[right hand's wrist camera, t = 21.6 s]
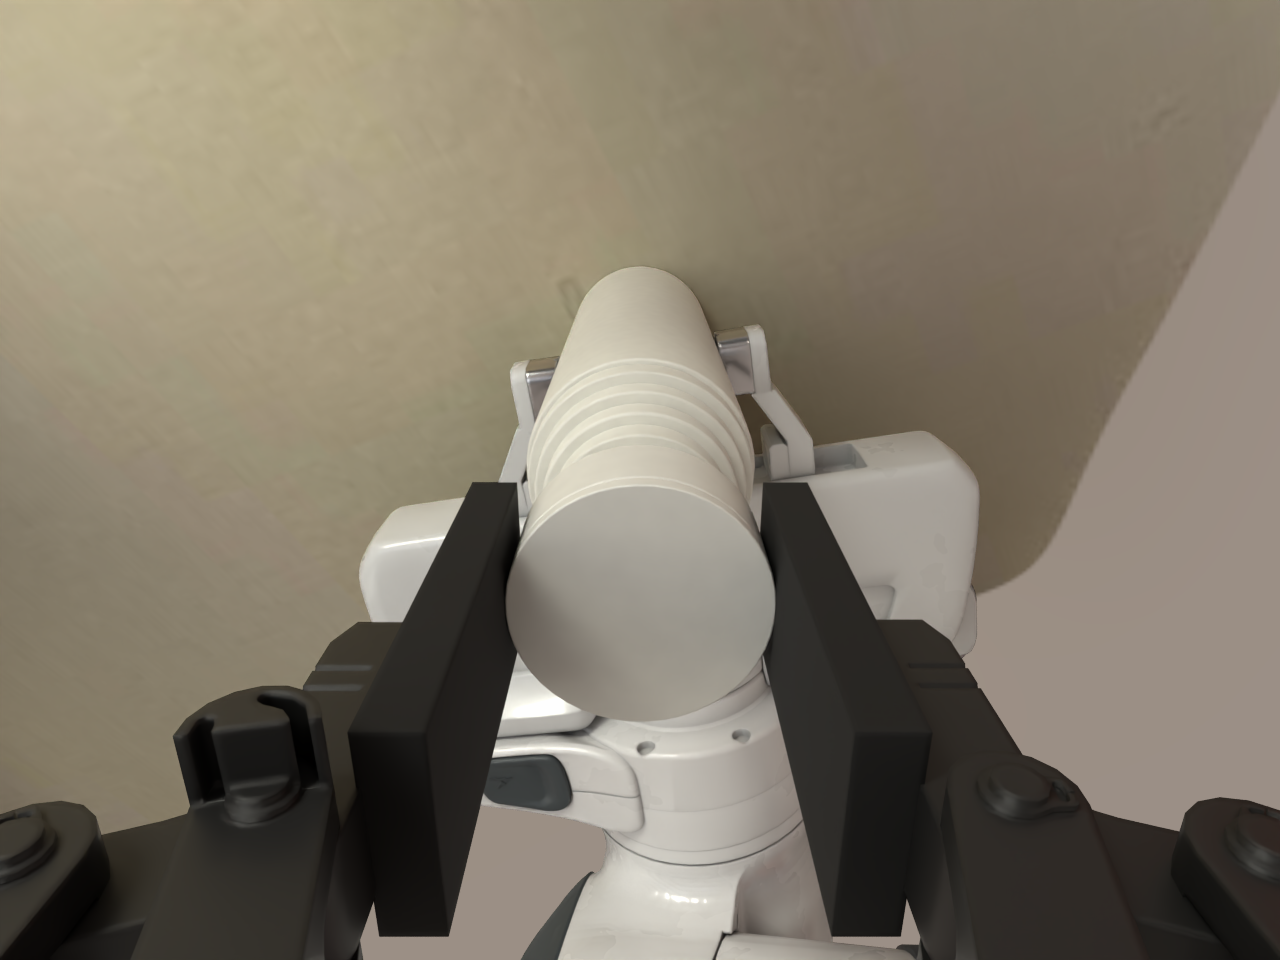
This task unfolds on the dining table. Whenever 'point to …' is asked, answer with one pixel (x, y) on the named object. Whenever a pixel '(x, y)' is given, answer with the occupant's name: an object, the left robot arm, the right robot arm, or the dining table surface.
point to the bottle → (640, 383)
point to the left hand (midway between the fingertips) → (634, 346)
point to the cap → (640, 585)
